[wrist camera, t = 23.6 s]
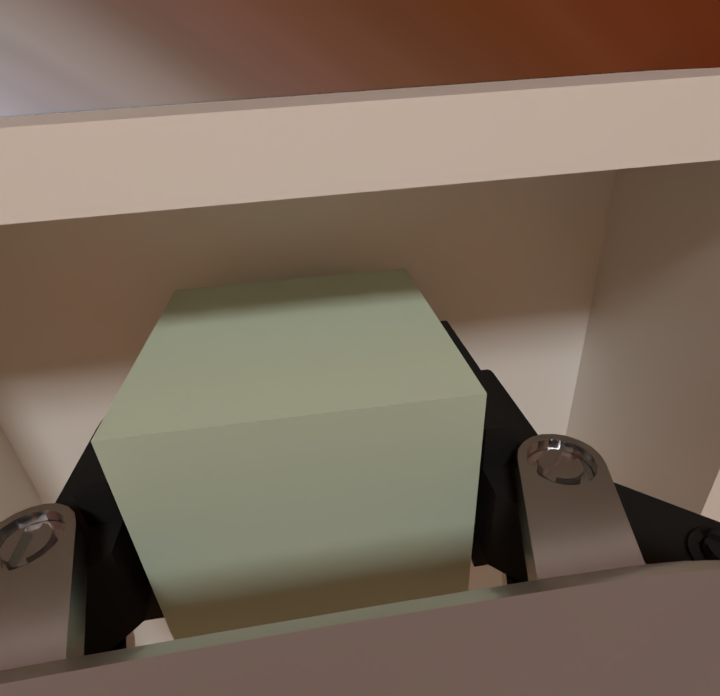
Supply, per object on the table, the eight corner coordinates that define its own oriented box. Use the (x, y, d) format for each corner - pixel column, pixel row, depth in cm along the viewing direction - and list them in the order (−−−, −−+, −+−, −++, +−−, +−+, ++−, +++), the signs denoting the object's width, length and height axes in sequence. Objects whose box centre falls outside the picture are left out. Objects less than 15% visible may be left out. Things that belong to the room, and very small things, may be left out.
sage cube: (405, 442, 13) (465, 620, 9) (220, 466, 13) (184, 666, 8) (405, 268, 11) (486, 393, 6) (174, 289, 10) (90, 441, 6)
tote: (536, 617, 22) (613, 781, 17) (137, 687, 20) (86, 892, 15) (649, 70, 11) (957, 57, 6) (-174, 129, 10) (-706, 179, 5)
